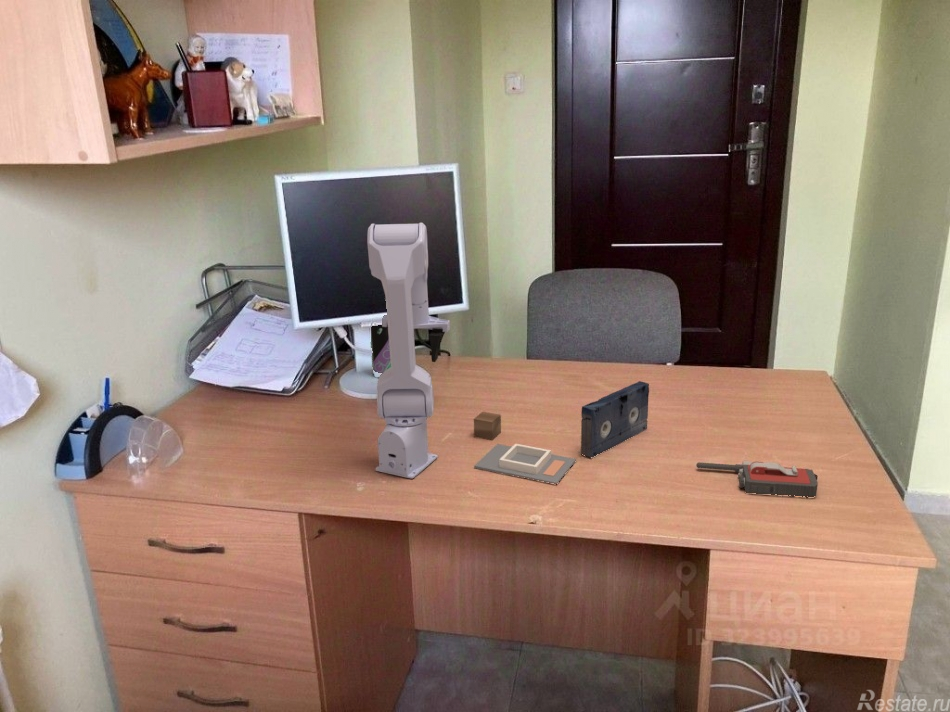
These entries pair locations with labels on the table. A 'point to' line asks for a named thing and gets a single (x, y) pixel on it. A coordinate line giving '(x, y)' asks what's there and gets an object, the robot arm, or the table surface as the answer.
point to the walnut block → (487, 425)
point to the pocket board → (526, 462)
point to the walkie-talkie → (771, 478)
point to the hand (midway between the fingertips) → (417, 358)
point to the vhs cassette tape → (614, 419)
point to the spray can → (380, 349)
